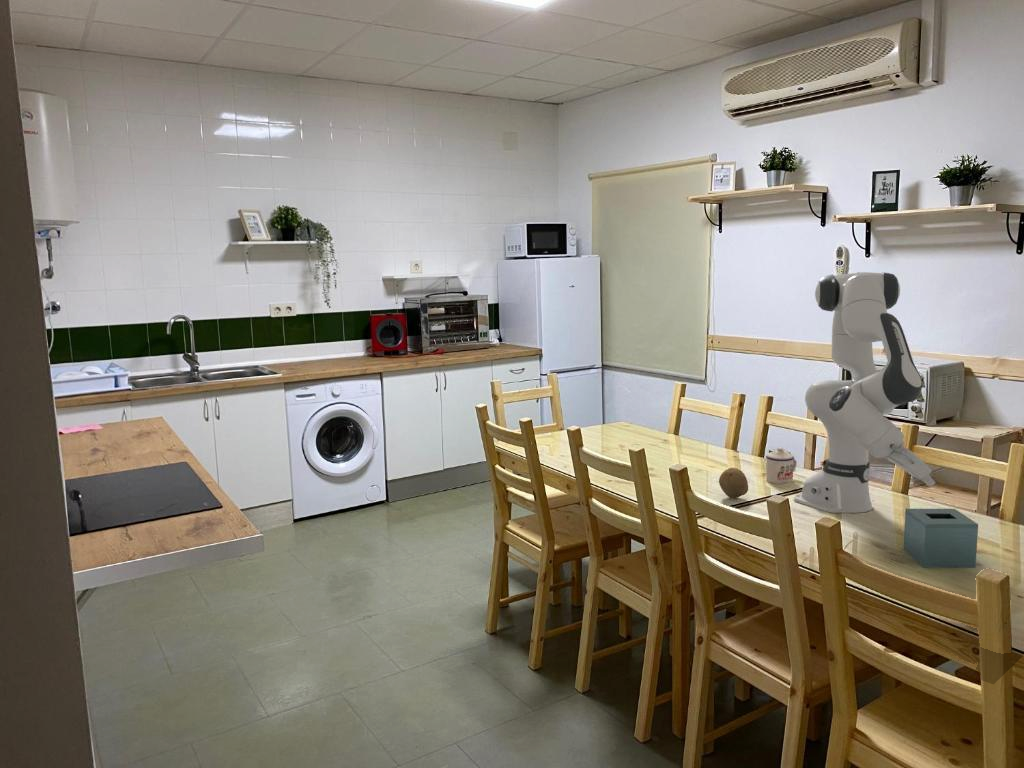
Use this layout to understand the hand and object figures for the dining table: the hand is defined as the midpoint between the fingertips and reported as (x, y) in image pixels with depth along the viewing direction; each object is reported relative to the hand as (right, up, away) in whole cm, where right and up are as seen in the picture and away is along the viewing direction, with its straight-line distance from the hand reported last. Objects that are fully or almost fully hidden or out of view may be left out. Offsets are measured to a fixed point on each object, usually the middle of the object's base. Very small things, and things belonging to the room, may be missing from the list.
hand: (923, 478), depth 188 cm
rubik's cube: (-3, -7, +93) cm, 94 cm away
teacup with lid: (-8, -10, +75) cm, 76 cm away
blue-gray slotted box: (+5, -20, +2) cm, 21 cm away
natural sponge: (-31, -13, +57) cm, 66 cm away
